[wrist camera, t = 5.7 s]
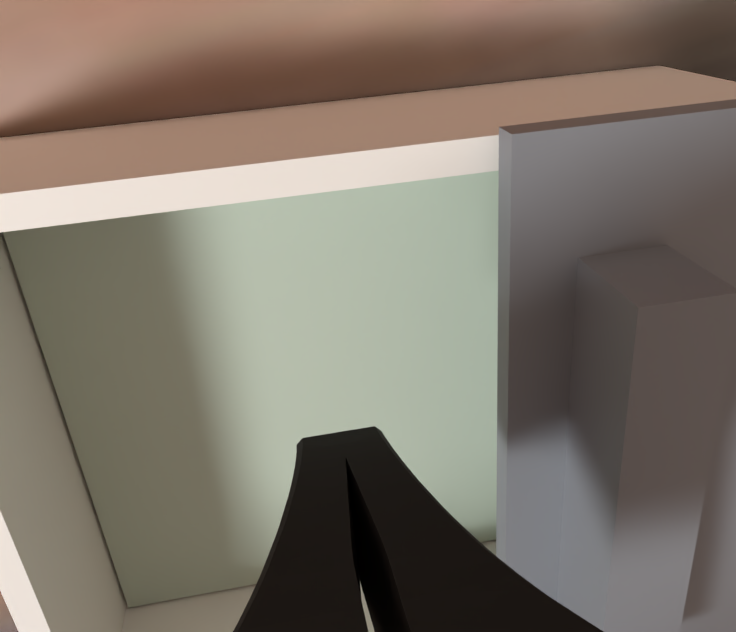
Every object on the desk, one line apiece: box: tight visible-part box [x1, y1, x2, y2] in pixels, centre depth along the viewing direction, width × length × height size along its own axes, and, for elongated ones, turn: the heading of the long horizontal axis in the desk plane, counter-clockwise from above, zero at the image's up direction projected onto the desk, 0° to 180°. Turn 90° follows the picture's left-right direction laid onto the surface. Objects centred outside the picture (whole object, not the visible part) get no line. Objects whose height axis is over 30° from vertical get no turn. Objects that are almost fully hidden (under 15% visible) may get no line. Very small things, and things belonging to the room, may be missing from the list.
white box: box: [0, 65, 736, 632], centre depth 17 cm, size 14×16×5 cm
